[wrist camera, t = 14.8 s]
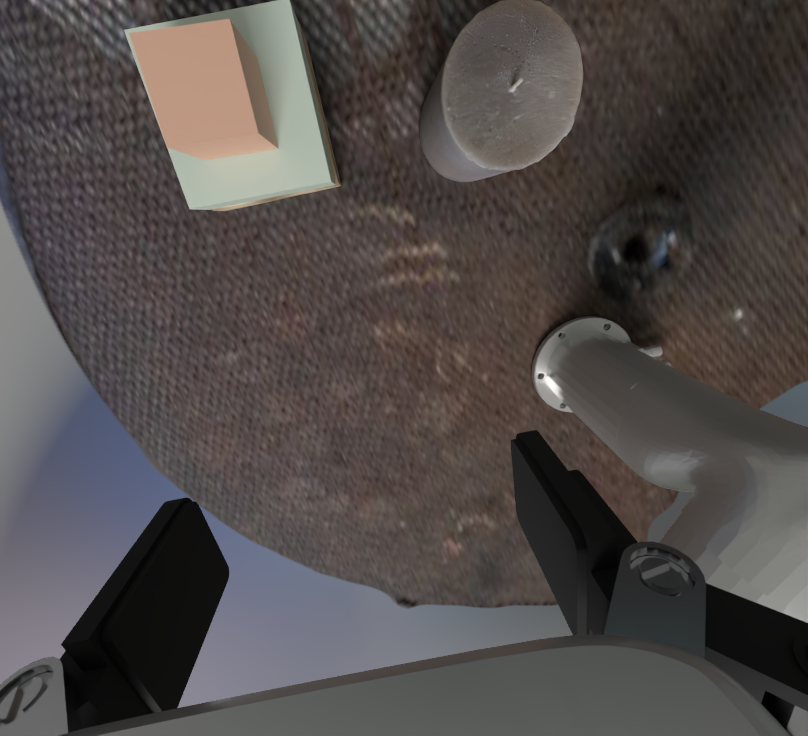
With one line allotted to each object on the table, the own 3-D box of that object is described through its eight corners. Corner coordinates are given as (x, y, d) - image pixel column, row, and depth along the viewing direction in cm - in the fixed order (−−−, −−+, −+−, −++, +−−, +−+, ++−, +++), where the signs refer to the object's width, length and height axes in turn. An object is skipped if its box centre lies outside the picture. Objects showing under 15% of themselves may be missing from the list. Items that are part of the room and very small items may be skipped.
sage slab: (299, 24, 31) (289, -2, 27) (335, 184, 36) (331, 181, 32) (153, 52, 31) (124, 29, 27) (208, 209, 36) (189, 209, 32)
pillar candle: (438, 51, 35) (479, -50, 22) (532, 94, 37) (624, 25, 23) (404, 163, 39) (420, 137, 25) (491, 198, 40) (552, 191, 27)
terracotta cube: (256, 57, 28) (229, 18, 23) (278, 148, 31) (258, 133, 25) (176, 69, 28) (128, 33, 23) (203, 160, 31) (167, 147, 25)
